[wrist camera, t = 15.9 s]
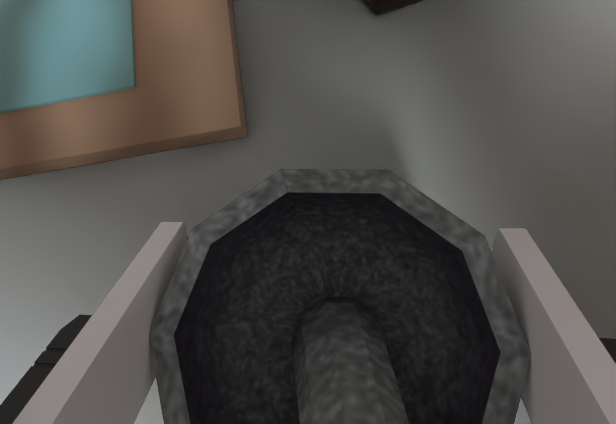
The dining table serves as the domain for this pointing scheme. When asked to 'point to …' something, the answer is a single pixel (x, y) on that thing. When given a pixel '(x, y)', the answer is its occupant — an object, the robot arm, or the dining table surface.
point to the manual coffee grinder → (386, 5)
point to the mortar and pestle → (337, 311)
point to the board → (114, 80)
